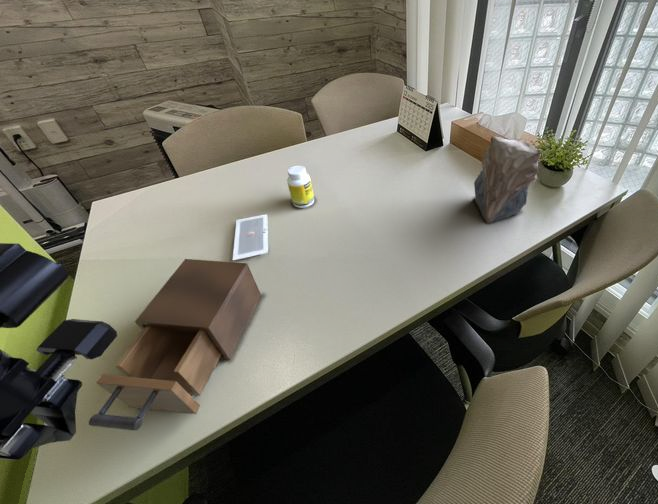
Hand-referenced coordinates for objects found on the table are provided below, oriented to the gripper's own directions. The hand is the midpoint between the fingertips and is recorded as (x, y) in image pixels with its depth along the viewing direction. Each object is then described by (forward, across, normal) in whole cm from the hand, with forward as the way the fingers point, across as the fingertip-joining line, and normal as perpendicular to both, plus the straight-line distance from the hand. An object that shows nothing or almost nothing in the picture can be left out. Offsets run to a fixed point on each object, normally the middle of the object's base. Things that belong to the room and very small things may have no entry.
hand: (69, 436), depth 38 cm
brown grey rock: (+13, -64, +60) cm, 88 cm away
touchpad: (+13, -46, -3) cm, 48 cm away
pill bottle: (+13, -62, +6) cm, 64 cm away
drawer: (+12, -11, +1) cm, 16 cm away
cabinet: (+13, -23, +1) cm, 26 cm away
